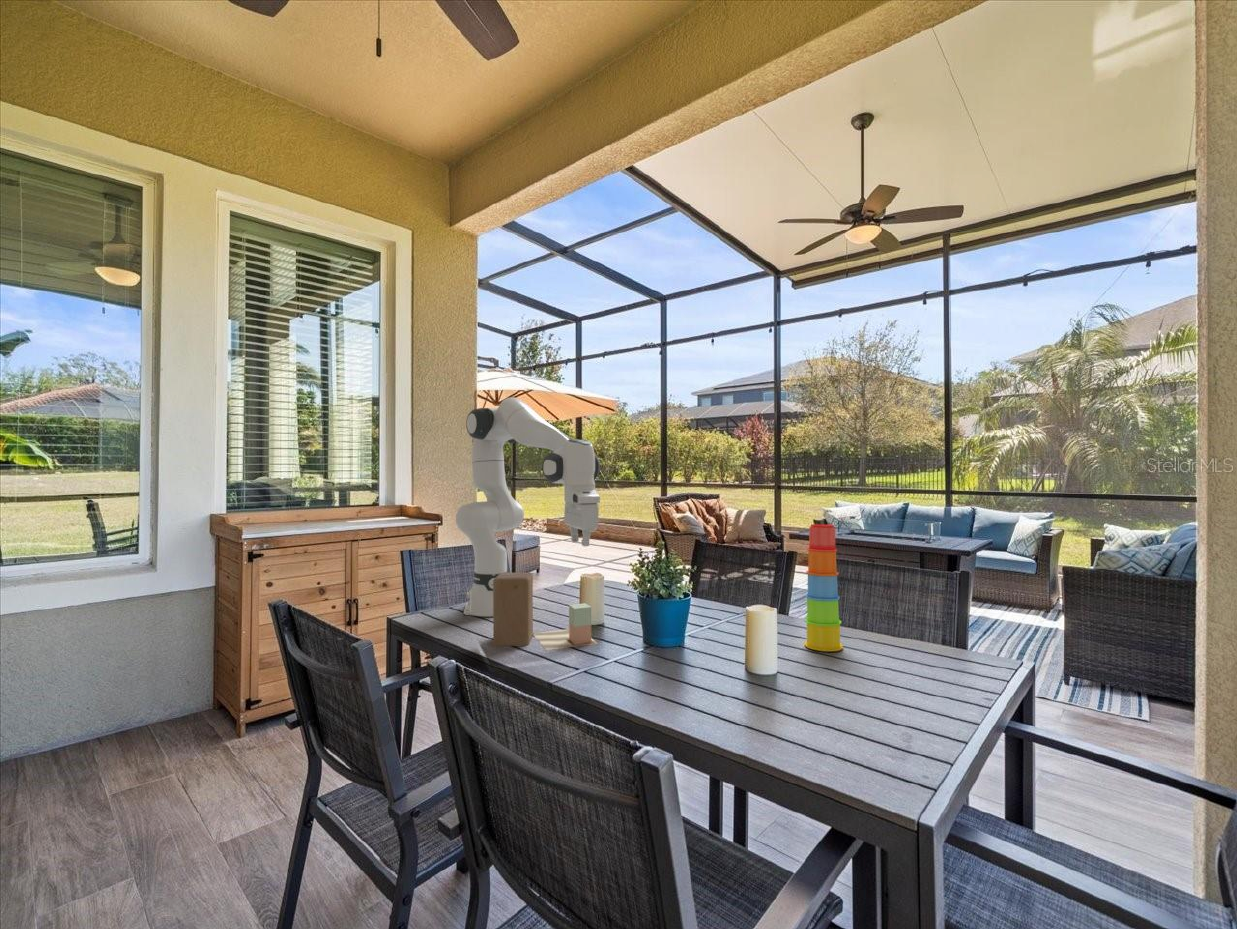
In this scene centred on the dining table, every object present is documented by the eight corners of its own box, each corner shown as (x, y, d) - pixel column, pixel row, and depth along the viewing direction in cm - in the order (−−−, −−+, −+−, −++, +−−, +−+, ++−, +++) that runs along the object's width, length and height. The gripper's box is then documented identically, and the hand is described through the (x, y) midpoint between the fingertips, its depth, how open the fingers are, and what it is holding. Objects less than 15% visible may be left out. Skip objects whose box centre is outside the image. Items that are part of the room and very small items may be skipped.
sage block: (569, 622, 169) (569, 604, 169) (585, 620, 170) (585, 603, 170) (574, 626, 164) (574, 608, 164) (591, 624, 166) (591, 607, 166)
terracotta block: (569, 639, 169) (569, 622, 169) (585, 637, 170) (585, 620, 170) (574, 644, 164) (574, 626, 164) (591, 642, 166) (591, 624, 166)
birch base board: (531, 637, 175) (531, 633, 175) (579, 631, 181) (579, 627, 181) (546, 654, 159) (546, 649, 159) (598, 647, 165) (598, 643, 165)
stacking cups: (797, 646, 165) (797, 524, 165) (816, 639, 172) (815, 522, 172) (831, 655, 158) (830, 527, 158) (849, 647, 165) (849, 525, 165)
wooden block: (528, 649, 163) (528, 578, 163) (492, 650, 163) (492, 578, 163) (533, 639, 173) (533, 571, 173) (499, 639, 173) (499, 572, 173)
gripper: (559, 494, 176) (559, 540, 176) (580, 497, 157) (580, 549, 157) (578, 493, 178) (579, 539, 178) (602, 497, 159) (602, 547, 159)
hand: (580, 544), depth 167 cm, fingers open, 8 cm apart
